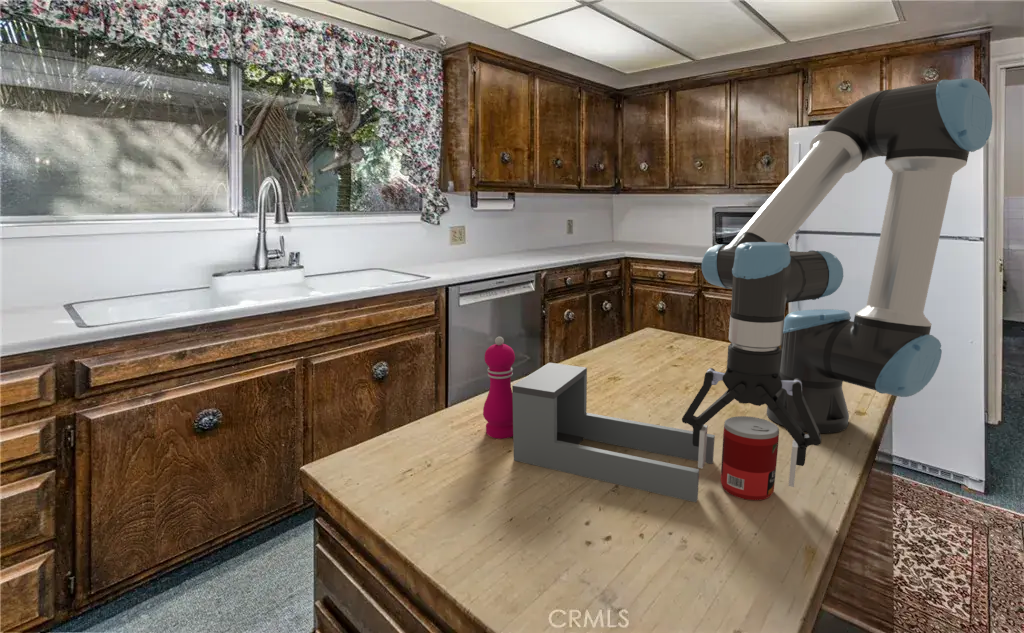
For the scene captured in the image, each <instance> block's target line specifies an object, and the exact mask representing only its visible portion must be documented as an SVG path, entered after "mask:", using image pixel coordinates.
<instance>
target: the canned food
mask: <svg viewBox="0 0 1024 633" xmlns="http://www.w3.org/2000/svg"><path fill="white" fill-rule="evenodd" d="M722 434H723V435H722V436H723V437H722V450H721V451H722V452H721V466H720V468H721V469H720V484H721V487H722V488H723V490H724V491H725V492H726V493H728V494H729V495H731V496H734V497H736V498H738V499H743V500H747V501H763V500H767V499H768V498H771V496H772V494H774V493H773V492H774V491H775V484H776V482H775V481H776V473H777V471H776V470H777V462H778V450H779V441H780V440H779V438H780V437H779V436H780V429H779V426H778V424H775V422H773V421H770V420H766V419H763V418H760V417H756V416H746V415H745V416H743V415H741V416H740V415H739V416H738V415H737V416H732V417H729V418H727V419H725V420H724V424H723V433H722Z"/></svg>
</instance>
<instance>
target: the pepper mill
mask: <svg viewBox="0 0 1024 633" xmlns="http://www.w3.org/2000/svg"><path fill="white" fill-rule="evenodd" d="M504 342H505V339H504V337H502V336H497V337H496V338H495V339H494V344H492V345H490V346H489V347H488V348H486V350H485V352H484V362H485V364H486V365H487V366H488V368H487V369H486V370H487V376H488V378H489V390H488V394H487V395H486V396H487V397H486V399H485V401H484V404H483V410H482V412H483V413H482V415H483V418H484V419H485V421H486V422H487V423H486V424H485V433H486V435H487V436H488V437H490V438H492V439H498V440H499V439H501V440H502V439H508V438H511V437H512V438H513V394H512V384H511V382H512V378H511V377H512V376H513V375H514V373H513V370H514V368H513V367H512V366H513V365H514V364H515V360H516V355H515V351H514V349H513V348H512V347H511V346H509V345H508V344H505V343H504Z"/></svg>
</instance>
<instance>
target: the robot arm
mask: <svg viewBox="0 0 1024 633" xmlns="http://www.w3.org/2000/svg"><path fill="white" fill-rule="evenodd" d="M991 102H992V101H991V99H990V97H989V93H988V91H987V90H986V88H985V86H984V85H983V84H982V83H981V82H980V81H979V80H976V79H973V78H968V77H967V78H965V77H964V78H957V79H941V80H939V81H935V82H928V83H927V82H926V83H922V84H917V85H912V86H911V85H910V86H905V87H898V88H893V89H885V90H884V89H883V90H879V91H875V92H873V93H870V94H867V95H866V96H864V97H862V98H860V99H858V100H856V101H855V102H853V103H851V104H850V105H849V106H847V107H846V108H844V109H843V110H841V111H840V112H839V113H837V114H836V115H835V116H834V117H833V118H832V119H830V120H829V121H828V122H827V123H826V124H825V125H824V126H823V127H822V128H821V130H819V131H818V132H817V134H816V135H815V136H814V137H813V138H812V140H811V141H810V143H809V151H808V153H807V154H806V155H804V157H803V158H802V159H801V161H799V163H798V164H797V165H796V166H795V167H794V169H793V170H791V172H790V173H789V174H788V175H787V177H786V178H785V179H784V180H783V181H782V182H781V183H780V184H779V186H778V187H777V188H776V189H775V190H774V192H773V193H772V194H771V195H770V196H769V197H768V198H767V200H766V201H765V202H764V203H763V204H762V206H760V208H759V209H758V210H757V211H756V213H755V214H754V215H753V216H752V217H751V218H750V220H749V221H748V222H747V223H746V224H745V225H744V226H743V227H742V228H741V230H740V231H739V232H738V233H737V235H736V236H735V237H734V238H733V239H732V240H731V242H730V243H729V244H725V243H722V244H715V245H713V246H710V247H709V248H708V249H707V250H706V252H705V253H704V255H703V257H702V261H701V272H702V275H703V277H704V279H705V280H706V281H707V283H708V284H710V285H713V286H717V287H721V288H724V289H727V290H730V289H731V303H730V304H731V306H730V308H731V309H730V315H729V328H728V340H729V342H730V344H729V345H728V346H727V356H726V358H727V359H726V360H727V361H726V371H725V372H720V371H717V370H716V369H714V368H713V367H710V368H707V370H706V372H705V373H704V378H703V383H702V386H701V387H700V389H699V390H698V392H697V394H696V396H695V397H694V398H693V400H692V402H691V403H690V405H689V407H687V410H686V411H685V413H684V414H683V416H682V418H681V421H682V423H683V424H687V425H690V426H691V427H692V431H693V442H692V443H693V446H697V447H699V455H698V461H697V469H704V466H705V464H706V463H705V462H706V445H707V434H708V429H709V428H708V425H707V424H706V423H708V422H709V421H710V420H711V419H712V418H713V417H715V416H716V415H717V414H718V413H720V411H721V410H723V409H724V408H725V407H726V406H727V405H730V404H731V402H733V400H735V401H737V402H738V403H739V404H743V405H745V404H751V405H753V406H757V407H761V406H762V405H766V415H767V417H768V419H770V420H771V422H773V423H776V424H777V425H780V426H783V427H784V428H785V430H786V431H787V432H788V434H789V435H790V436H791V438H792V439H793V440H792V445H791V454H790V464H789V476H788V487H791V488H795V479H796V471H797V470H796V469H797V466H801V467H804V465H805V464H806V457H807V456H806V455H807V454H806V453H807V449H808V447H809V446H816V447H817V446H820V445H821V443H822V436H821V434H831V433H832V434H833V433H838V432H839V433H840V432H842V431H844V430H846V429H847V428H848V426H849V420H850V419H849V418H850V413H849V410H848V406H847V402H846V399H845V395H844V391H843V382H844V383H848V384H851V385H855V386H859V387H862V388H866V389H869V390H871V391H872V390H873V391H876V392H877V393H879V394H881V395H882V394H885V395H887V394H888V395H891V396H895V397H899V398H909V397H912V396H915V395H917V394H918V393H919V392H921V391H922V390H923V389H924V388H925V387H927V385H928V384H929V383H930V382H931V380H932V379H933V377H934V376H935V374H936V372H937V370H938V368H939V365H940V362H941V359H942V350H943V349H941V348H942V343H941V341H940V340H939V339H938V338H937V337H935V336H934V335H932V334H931V333H930V332H931V329H932V323H931V321H930V320H929V319H928V317H926V316H925V313H924V311H925V307H926V303H927V297H928V292H929V288H930V283H931V279H932V278H931V277H932V273H933V270H934V269H933V268H934V264H935V259H936V256H937V250H938V247H939V246H938V245H939V242H940V236H941V231H942V227H943V222H944V218H945V213H946V210H947V209H946V208H947V204H948V199H949V194H950V190H951V185H952V180H953V177H954V175H955V173H957V172H958V171H960V170H962V168H964V167H965V166H966V165H967V162H968V161H969V160H968V159H969V156H970V155H969V154H970V152H971V153H972V152H973V153H974V152H977V151H978V150H982V149H983V147H984V146H986V144H987V141H988V140H989V138H990V136H991V133H992V132H991V131H992V129H993V128H992V127H993V108H992V103H991ZM878 157H885V160H884V161H885V162H884V164H885V165H886V167H887V168H888V169H889V170H890V171H891V174H892V176H891V181H890V185H889V186H890V187H889V192H888V196H887V201H886V207H885V210H884V216H883V221H882V227H881V230H880V236H879V240H878V247H877V251H876V256H875V259H874V266H873V270H872V275H871V276H872V277H871V281H870V286H869V291H868V297H867V301H866V305H865V306H864V307H863V308H861V309H860V310H858V311H857V312H855V314H854V318H853V321H851V318H852V316H851V314H850V312H849V311H847V310H845V309H833V308H832V309H824V308H823V309H821V308H820V309H803V310H802V309H801V310H796V311H792V312H790V313H788V314H787V315H786V316H785V314H786V313H785V312H786V305H787V304H788V303H789V304H790V303H794V302H801V301H802V302H804V301H808V300H809V301H810V300H812V301H815V300H819V299H821V298H825V297H827V296H830V295H832V294H834V293H835V292H836V291H838V290H839V288H840V286H841V285H842V283H843V280H844V279H843V278H844V268H843V265H842V263H841V261H840V259H838V257H837V256H836V255H834V254H833V253H831V252H830V251H825V250H813V249H811V250H807V251H794V250H791V249H790V247H789V245H788V244H787V243H788V242H789V240H791V239H792V238H793V236H794V235H795V233H796V232H797V231H798V230H799V229H800V228H801V226H802V225H803V224H804V223H805V222H806V220H807V219H808V218H809V217H810V216H811V215H812V214H813V212H814V211H815V210H816V208H818V206H819V205H820V204H821V203H822V202H823V200H825V198H826V196H828V194H830V192H831V191H832V190H833V188H834V187H835V186H836V185H837V184H838V183H839V181H840V180H841V179H842V178H843V177H844V176H845V174H849V173H851V172H852V173H853V172H854V171H855V170H857V168H859V167H860V165H861V164H862V163H863V162H865V161H866V160H869V159H873V158H878ZM720 381H722V382H723V384H724V385H725V387H726V388H727V390H726V391H725V392H724V393H723V394H722V395H720V396H719V398H718V399H716V400H715V401H714V402H713V403H712V404H710V405H709V406H708V407H707V408H706V409H705V410H703V411H702V412H701V414H700V415H698V416H696V415H695V413H696V412H697V411H698V409H699V407H700V406H701V404H702V402H703V400H704V399H705V398H706V396H707V394H708V393H709V391H710V390H711V387H712V386H716V385H717V384H718V383H719V382H720ZM805 432H806V433H807V434H806V433H805Z"/></svg>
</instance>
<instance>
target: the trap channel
mask: <svg viewBox="0 0 1024 633" xmlns="http://www.w3.org/2000/svg"><path fill="white" fill-rule="evenodd" d="M587 379H588V367H585V366H579V365H578V366H577V365H571V364H570V365H569V364H562V363H555V362H548V363H546V364H545V365H543V366H541V367H540V368H538V369H536V370H535V371H533V372H531V373H530V374H529V375H527V376H526V377H524V378H522V379H520V380H519V381H517V382H516V383H514V384H513V385H511V389H512V394H513V436H512V438H513V443H512V444H513V461H515V462H520V463H524V464H527V465H533V466H537V467H542V468H545V469H550V470H554V471H559V472H563V473H568V474H571V475H576V476H580V477H585V478H590V479H592V480H593V479H594V480H597V481H601V482H606V483H611V484H613V485H615V484H616V485H619V486H624V487H628V488H632V489H636V490H640V491H645V492H649V493H654V494H657V495H662V496H666V497H670V498H675V499H679V500H683V501H684V500H685V501H689V502H692V503H697V501H698V498H699V484H700V483H699V482H700V481H699V480H700V468H695V467H691V466H690V467H689V466H684V465H679V464H674V463H669V462H664V461H661V460H655V459H650V458H646V457H645V458H644V457H641V456H636V455H635V456H634V455H631V454H627V453H621V452H616V451H611V450H606V449H601V448H596V447H592V446H587V445H582V444H581V442H582V441H584V440H588V441H594V442H598V443H603V444H609V445H614V446H619V447H624V448H628V449H635V450H639V451H643V452H649V453H654V454H660V455H664V456H670V457H675V458H678V459H679V458H680V459H685V460H689V461H695V462H698V455H699V447H697V446H693V443H692V442H693V430H687V429H682V428H676V427H670V426H665V425H660V424H654V423H647V422H641V421H635V420H629V419H626V418H619V417H614V416H607V415H602V414H597V413H591V412H587V399H588V398H587V397H588V396H587V393H588V392H587V389H588V388H587V387H588V386H587V385H588V380H587ZM715 436H716V434H710V433H707V445H706V462H705V464H710V465H712V464H713V463H714V455H715V454H714V453H715V452H714V451H715V438H716V437H715Z"/></svg>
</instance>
